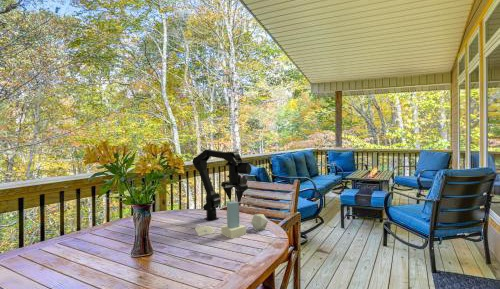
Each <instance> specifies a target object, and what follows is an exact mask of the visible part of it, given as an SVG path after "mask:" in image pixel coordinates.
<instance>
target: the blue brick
mask: <svg viewBox="0 0 500 289" xmlns="http://www.w3.org/2000/svg"><path fill="white" fill-rule="evenodd" d="M239 224H240V202H238V200H232V201H226V225H227V226H228V227H229V228H236V227H240V225H241V224H240V225H239Z"/></svg>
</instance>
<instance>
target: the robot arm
mask: <svg viewBox="0 0 500 289" xmlns="http://www.w3.org/2000/svg"><path fill="white" fill-rule="evenodd" d="M211 157H212V158H217V159H223V160H224V161H226V163H225V167H226V166H227V167H228V174H227V175H226V178H228V180H226V181H222V182H221V183H220V187H221V188H222V189H223V191H224V192H225V194H226V197H227V199H228V200H231V199H232V190H233V188H235V194H236V198H237V202H239V203H240V202H242V198H243V194H244V192H245V191H246V192H247V190H249V186H248V183H247V182H248V179H246V178H243V177H242V176H241V175H250V174H251V173H252V169H253V168H252V166H251V164H250V161H244V160H243V158H242V157H241V155H240V153H239V151H221V150H215V149H209V148H207V149H204V150H203V151H201V153H198V155H197V156H195V157H194V158H193V159H192V165H193V167H194V168H195V169H196V170H197V171H198V173H199V176H200V180H201V182H202V185H203V188H204V192H205V194H206V196H205V202H206V203H205V204H204V205H203V206H202V209H203V211H206V212H205V213H206V217H204V220H207V221H209V222H211V221H215V220H219V219H220V218H219V217H217V216H218V215H217V209H218V208H219V206H220V204H221V202H222V201H221V197H220V193H219V192H216V191H215V189H214V186H213V184H212V180H211V178H210V174H209V172H208V169H207V168H208V161H209V160H210V158H211Z"/></svg>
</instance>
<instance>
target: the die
mask: <svg viewBox="0 0 500 289" xmlns="http://www.w3.org/2000/svg"><path fill="white" fill-rule="evenodd" d="M268 221H269V220H268V219H267V218H266V216H265V215H264V213H259V214H258V213H257V214H253V216H252V219H251V221H250V224H251V225H252V227H253V228H254V230H255V231H262V230H263V231H264V230H266V228H267V224H268Z"/></svg>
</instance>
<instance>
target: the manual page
mask: <svg viewBox="0 0 500 289" xmlns="http://www.w3.org/2000/svg"><path fill="white" fill-rule="evenodd" d="M194 230H195V232H196V234H197V236H206V235H210V234H211V235H212V234H216V233H217V232H216V231H215V230H214V228H213V227H212V226H211V225H209V226H201V227H195V228H194Z"/></svg>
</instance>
